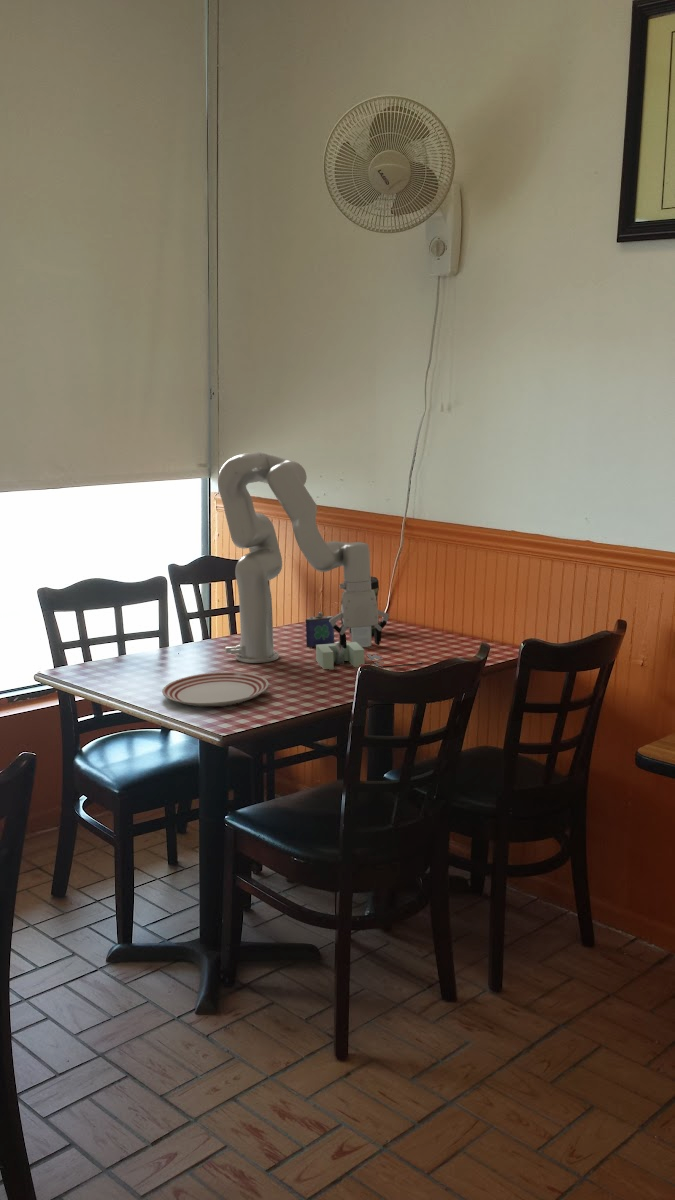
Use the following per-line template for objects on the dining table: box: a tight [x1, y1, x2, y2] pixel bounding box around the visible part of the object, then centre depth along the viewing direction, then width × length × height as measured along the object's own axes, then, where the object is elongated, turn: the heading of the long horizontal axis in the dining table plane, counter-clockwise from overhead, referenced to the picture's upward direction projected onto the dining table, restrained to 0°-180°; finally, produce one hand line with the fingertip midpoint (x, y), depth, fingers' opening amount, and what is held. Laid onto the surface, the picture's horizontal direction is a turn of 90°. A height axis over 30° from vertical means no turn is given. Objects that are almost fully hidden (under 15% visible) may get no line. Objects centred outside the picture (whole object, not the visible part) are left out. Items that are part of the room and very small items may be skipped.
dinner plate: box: [161, 671, 270, 707], centre depth 277 cm, size 27×27×3 cm
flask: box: [305, 611, 336, 648], centre depth 329 cm, size 9×3×11 cm, turn 114°
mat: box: [366, 651, 423, 668], centre depth 311 cm, size 13×14×1 cm
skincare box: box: [350, 626, 373, 648], centre depth 328 cm, size 6×4×12 cm
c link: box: [315, 641, 365, 670], centre depth 307 cm, size 10×12×5 cm
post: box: [334, 640, 345, 665], centre depth 307 cm, size 2×2×6 cm
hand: (360, 645), depth 304 cm, fingers open, 9 cm apart
